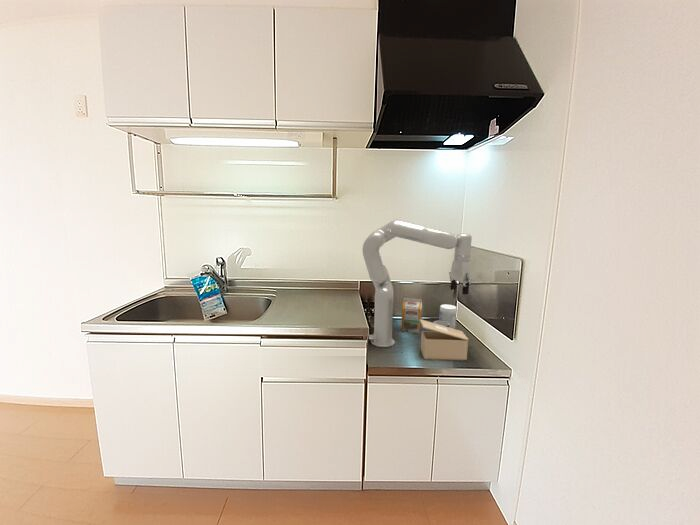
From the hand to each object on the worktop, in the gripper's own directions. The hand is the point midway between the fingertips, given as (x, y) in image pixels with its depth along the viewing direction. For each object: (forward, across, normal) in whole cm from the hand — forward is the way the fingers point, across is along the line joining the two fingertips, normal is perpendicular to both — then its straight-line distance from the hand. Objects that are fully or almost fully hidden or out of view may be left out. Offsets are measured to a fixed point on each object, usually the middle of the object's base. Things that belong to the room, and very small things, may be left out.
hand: (459, 291), depth 173 cm
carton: (+30, +6, -11) cm, 33 cm away
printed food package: (+31, -29, -9) cm, 43 cm away
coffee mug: (+30, -11, -1) cm, 32 cm away
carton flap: (+17, +6, -12) cm, 22 cm away
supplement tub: (+30, -22, +11) cm, 39 cm away
